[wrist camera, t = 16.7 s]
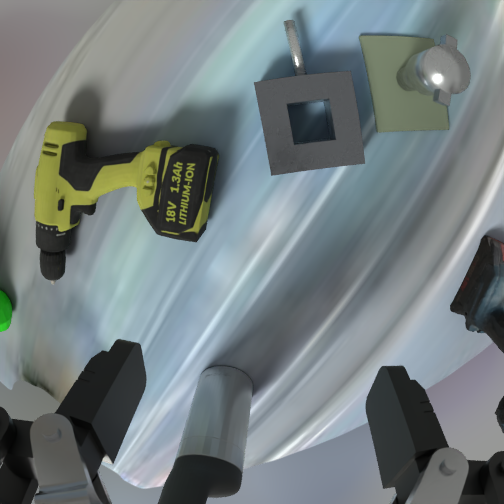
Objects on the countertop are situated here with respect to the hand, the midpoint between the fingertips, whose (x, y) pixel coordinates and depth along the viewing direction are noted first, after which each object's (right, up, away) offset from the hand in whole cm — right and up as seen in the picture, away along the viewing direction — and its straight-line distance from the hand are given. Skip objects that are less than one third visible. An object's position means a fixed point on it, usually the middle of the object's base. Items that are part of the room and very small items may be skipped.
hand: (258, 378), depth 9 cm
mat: (+18, +24, +20) cm, 36 cm away
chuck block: (+5, +22, +22) cm, 31 cm away
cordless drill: (-18, +9, +30) cm, 36 cm away
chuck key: (+18, +24, +19) cm, 36 cm away
